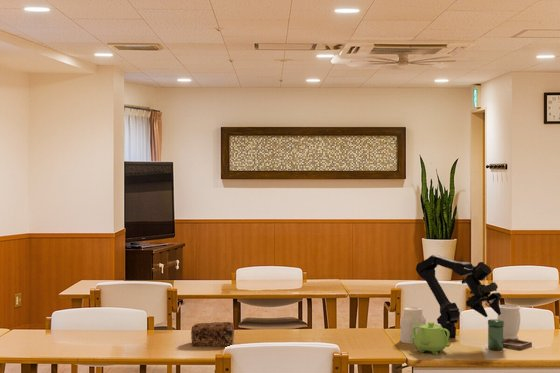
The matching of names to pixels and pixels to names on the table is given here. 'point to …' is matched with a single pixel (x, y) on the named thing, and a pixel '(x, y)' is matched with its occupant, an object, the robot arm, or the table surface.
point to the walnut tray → (516, 344)
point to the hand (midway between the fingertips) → (493, 315)
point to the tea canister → (495, 335)
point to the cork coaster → (496, 351)
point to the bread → (212, 334)
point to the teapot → (431, 338)
